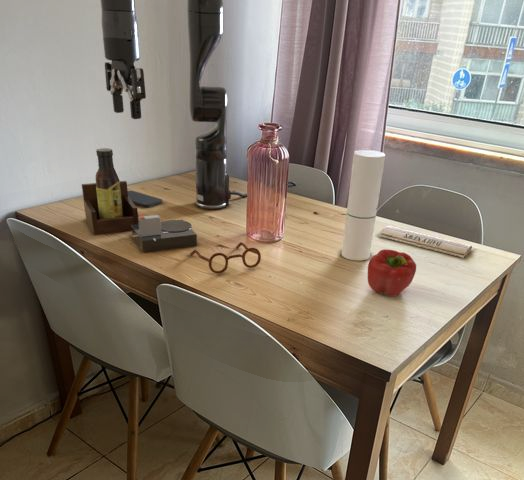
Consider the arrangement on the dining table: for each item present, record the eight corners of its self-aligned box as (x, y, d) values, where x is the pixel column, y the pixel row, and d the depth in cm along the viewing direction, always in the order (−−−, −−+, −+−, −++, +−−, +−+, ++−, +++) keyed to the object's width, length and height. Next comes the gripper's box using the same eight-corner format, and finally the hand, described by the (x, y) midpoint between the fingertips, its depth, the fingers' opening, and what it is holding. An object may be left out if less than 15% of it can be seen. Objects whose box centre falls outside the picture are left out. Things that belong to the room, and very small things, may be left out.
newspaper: (471, 250, 146) (472, 243, 145) (463, 258, 141) (464, 251, 140) (388, 229, 156) (389, 223, 155) (378, 236, 151) (379, 230, 150)
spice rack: (128, 215, 158) (125, 180, 152) (139, 229, 148) (136, 192, 143) (86, 219, 153) (81, 184, 148) (94, 234, 144) (89, 196, 139)
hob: (182, 230, 150) (182, 218, 148) (198, 247, 140) (198, 235, 138) (125, 236, 144) (124, 224, 142) (137, 254, 134) (136, 242, 132)
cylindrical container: (371, 252, 141) (387, 152, 128) (366, 262, 136) (382, 158, 122) (344, 247, 143) (357, 148, 130) (338, 257, 137) (351, 154, 124)
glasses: (210, 276, 125) (210, 256, 122) (189, 255, 135) (189, 236, 132) (261, 267, 130) (262, 247, 128) (237, 248, 140) (238, 229, 137)
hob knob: (159, 231, 139) (157, 213, 136) (161, 234, 138) (160, 216, 135) (139, 234, 137) (138, 215, 135) (141, 236, 136) (140, 218, 133)
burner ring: (185, 219, 148) (185, 218, 148) (196, 229, 141) (196, 229, 141) (153, 222, 145) (153, 221, 145) (162, 233, 138) (162, 233, 138)
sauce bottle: (120, 229, 148) (112, 153, 137) (97, 228, 148) (88, 152, 137) (126, 221, 154) (119, 147, 143) (104, 220, 154) (95, 146, 143)
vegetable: (420, 302, 118) (429, 259, 113) (375, 305, 116) (383, 261, 111) (399, 280, 127) (407, 240, 122) (357, 283, 125) (363, 241, 120)
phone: (130, 190, 175) (164, 199, 168) (131, 192, 176) (164, 202, 168) (112, 195, 170) (146, 205, 163) (113, 197, 171) (146, 208, 163)
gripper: (90, 32, 121) (98, 111, 129) (120, 37, 112) (127, 122, 120) (121, 33, 125) (127, 109, 133) (152, 37, 116) (157, 119, 124)
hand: (127, 115), depth 127 cm, fingers open, 8 cm apart
